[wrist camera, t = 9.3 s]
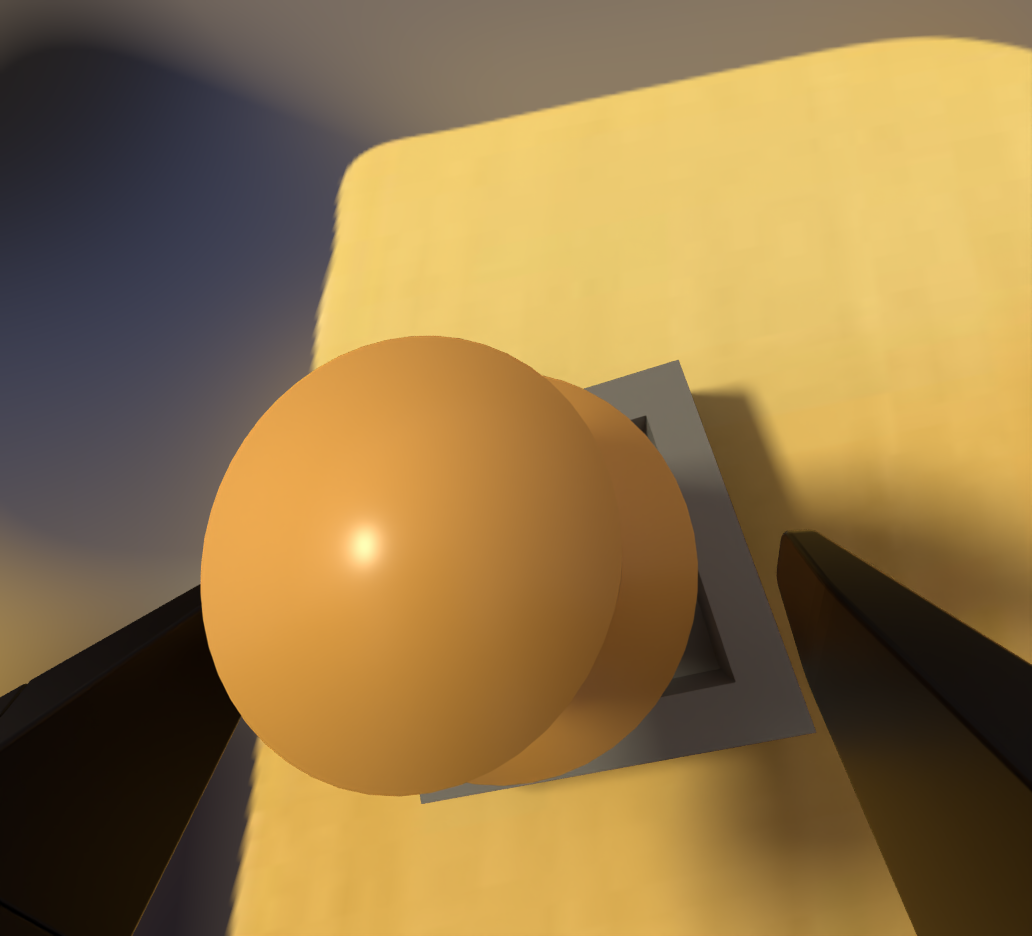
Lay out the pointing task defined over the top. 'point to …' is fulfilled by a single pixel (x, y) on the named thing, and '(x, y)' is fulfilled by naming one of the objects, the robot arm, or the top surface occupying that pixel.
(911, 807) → the robot arm
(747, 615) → the socket
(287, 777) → the top surface
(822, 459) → the top surface
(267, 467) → the peach lotion bottle
